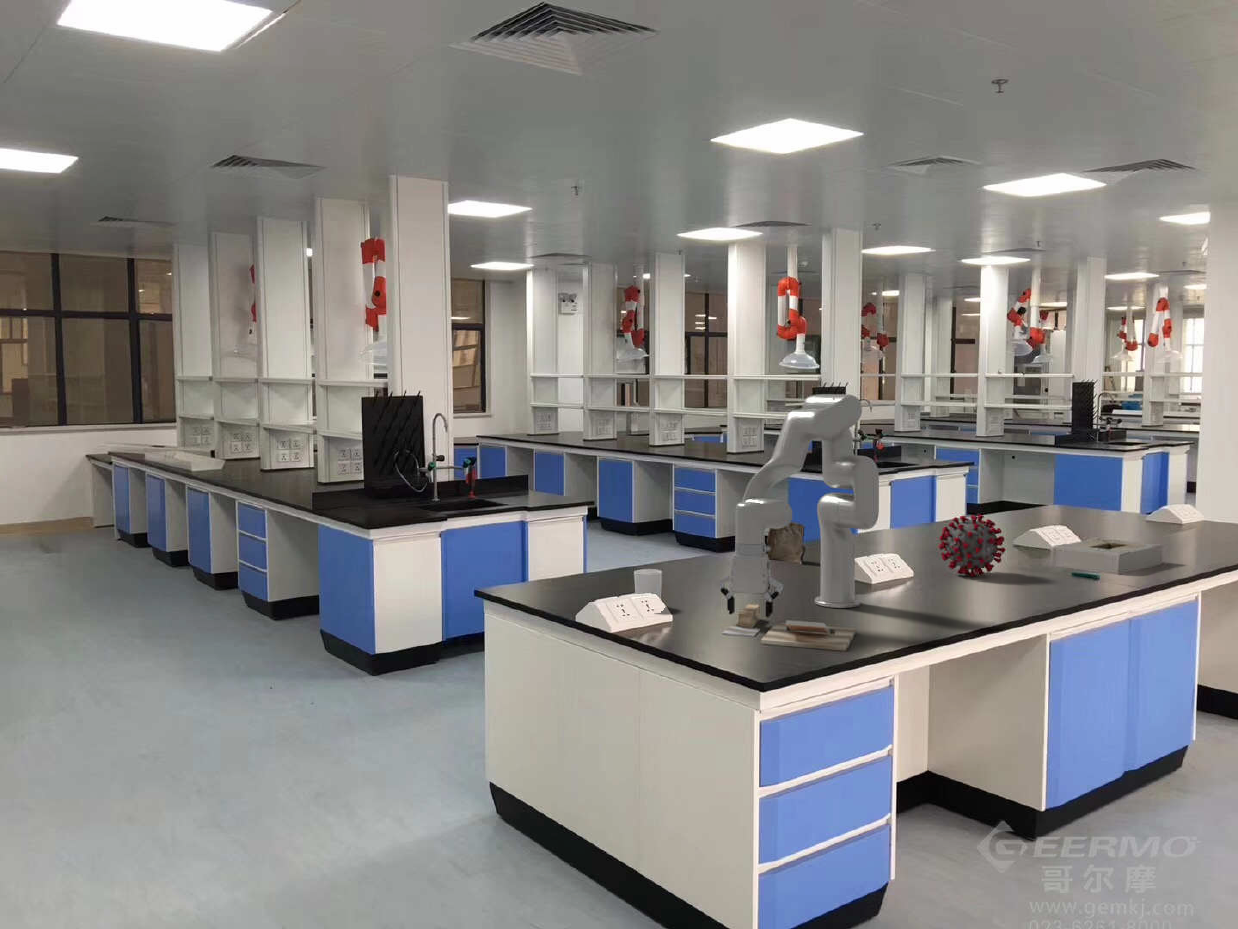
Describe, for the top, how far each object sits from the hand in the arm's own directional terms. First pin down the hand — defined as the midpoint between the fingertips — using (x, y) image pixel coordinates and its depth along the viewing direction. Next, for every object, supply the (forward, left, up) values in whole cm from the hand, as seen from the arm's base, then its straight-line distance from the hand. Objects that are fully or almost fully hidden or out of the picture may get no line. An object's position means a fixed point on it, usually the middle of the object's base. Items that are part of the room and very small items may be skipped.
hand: (749, 614), depth 250 cm
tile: (+12, +17, +1) cm, 21 cm away
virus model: (-88, +53, -3) cm, 102 cm away
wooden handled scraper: (+3, 0, -3) cm, 4 cm away
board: (+9, +17, -2) cm, 20 cm away
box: (-122, +96, -3) cm, 156 cm away
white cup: (-12, -32, -3) cm, 34 cm away
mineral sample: (-96, -9, -3) cm, 96 cm away
